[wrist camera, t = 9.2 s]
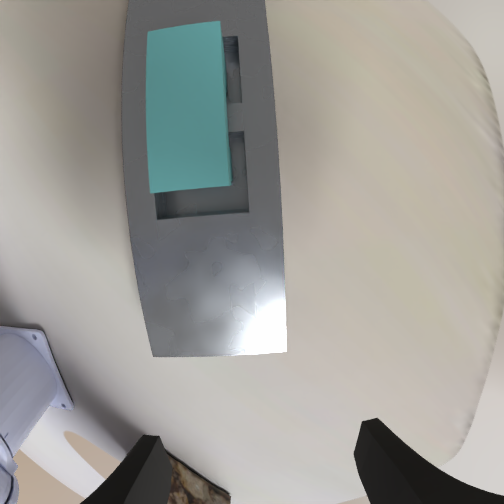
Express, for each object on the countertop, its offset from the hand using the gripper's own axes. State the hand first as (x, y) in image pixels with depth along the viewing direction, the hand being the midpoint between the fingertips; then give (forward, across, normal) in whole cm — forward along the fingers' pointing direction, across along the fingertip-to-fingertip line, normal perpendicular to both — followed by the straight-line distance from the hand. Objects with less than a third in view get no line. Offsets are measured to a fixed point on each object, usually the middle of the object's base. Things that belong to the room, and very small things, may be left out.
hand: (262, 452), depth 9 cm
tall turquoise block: (+9, +2, -12) cm, 15 cm away
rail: (+10, +2, -12) cm, 16 cm away
